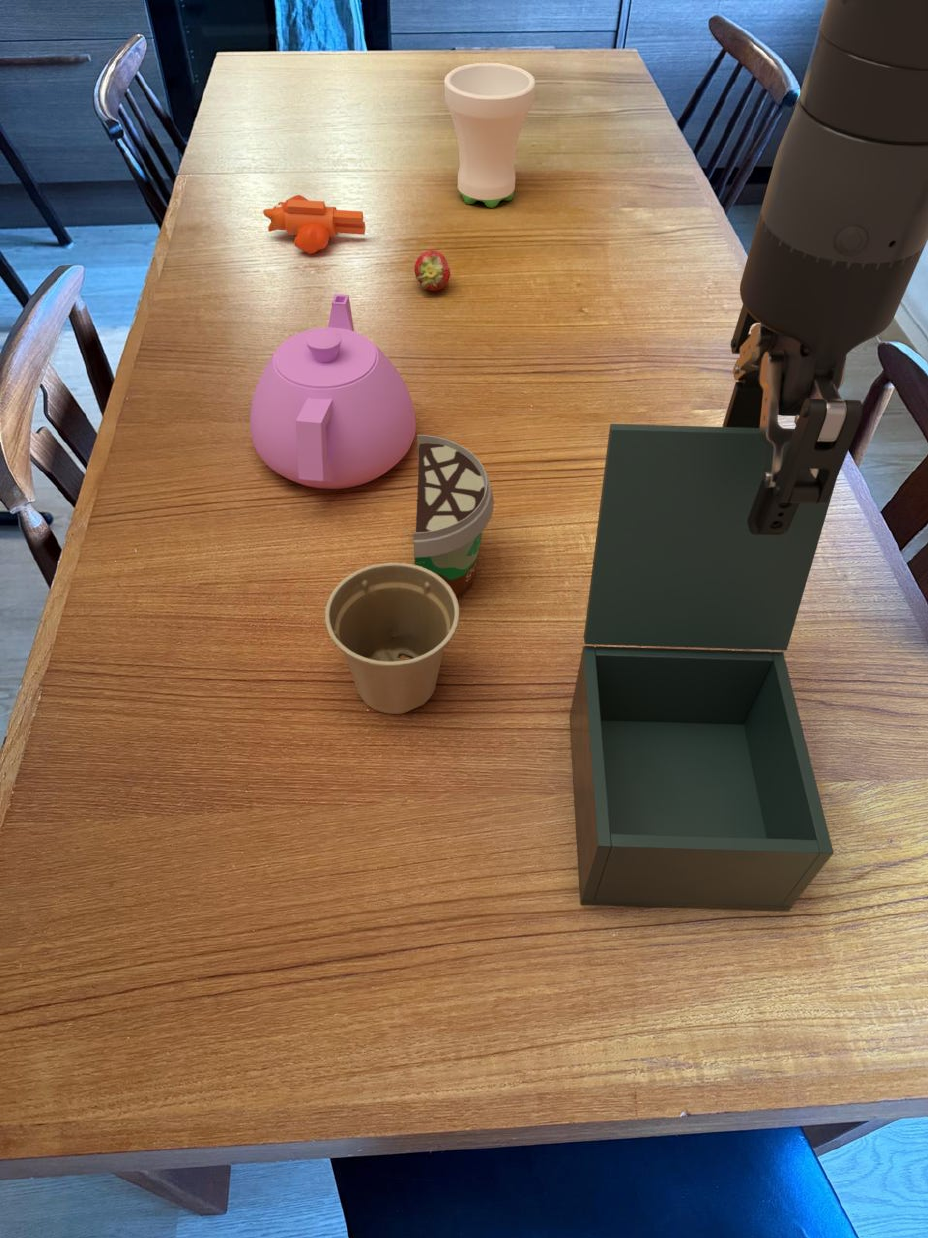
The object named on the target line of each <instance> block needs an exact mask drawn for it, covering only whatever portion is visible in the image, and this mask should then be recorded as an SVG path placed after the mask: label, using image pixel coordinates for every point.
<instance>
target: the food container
mask: <svg viewBox="0 0 928 1238" xmlns="http://www.w3.org/2000/svg"><path fill="white" fill-rule="evenodd" d="M417 473H418V474H417V497H416V498H417V499H416V516H415V517H416V518H415V522H416V523H415V532H413V533H412V534H413V558H414V565H417V566H421V567H423V568H426V569H428V570H430V571H432V572H434V573H436V574H437V575H438V576H440V577H441V578H442V579H443V580H444V581H445V582H446V583H447V584H448V585H449V586H450V587H451V588H452V590H453V592H454V593H455V596H456V598H457V600H459V599H461V598H462V597H464V596H465V595H466V593H467V592H468V591H469V590H470V588H471V587H472V586H473V584H474V581H475V579H476V574H477V570H478V569H477V568H478V562H479V556H480V549H481V542H482V535H483V531H484V530H485V529H486V527H487V526H488V524H489V522H490V520H491V519H492V515H493V512H494V507H495V506H494V505H495V499H494V493H493V489H492V484H491V480H490V477H489V476H488V472H487V470H486V469H485V467H484V465H483V464H482V462H481V461H480V459H478V457H477V456H476V455H475V454H474V453H473V452H471V451H470V450H469V449H467V448H466V447H464V446H462V445H461V444H459V443H457V442H455V441H452V440H450V439H447V438H443V437H439V436H435V435H428V434H417Z"/></svg>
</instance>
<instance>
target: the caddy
mask: <svg viewBox="0 0 928 1238" xmlns="http://www.w3.org/2000/svg"><path fill="white" fill-rule="evenodd" d="M784 653H785V652H784V651H771V650H763V651H762V650H738V649H705V648H672V647H666V648H665V647H639V646H606V645H583V646H582V650H581V656H580V659H579V666H578V671H577V675H576V677H577V678H576V681H575V687H574V692H573V696H572V702H571V707H570V712H569V733H570V750H571V765H572V767H571V768H572V785H573V801H574V802H573V803H574V818H575V835H576V836H575V838H576V852H577V853H576V855H577V871H578V872H577V875H578V891H579V904H580V905H581V906H609V907H610V906H611V907H612V906H613V907H640V908H641V907H642V908H643V907H644V908H673V909H676V908H677V909H703V910H706V909H708V910H709V909H710V910H738V911H739V910H741V911H768V912H770V911H771V912H790V910H791V909H793V906H794V905H795V904H796V902H797V901H798V900H799V898H800V897H801V896H802V894H803V893H804V892H805V891H806V889H807V888H808V887H809V886H810V884H811V883H812V882H813V881H814V879H815V878H816V876H817V875H818V874H819V872H821V870H822V869H823V868H824V866H825V865H826V863H828V861H829V860H830V858H831V857H832V856H833V855H834V849H833V845H832V841H831V837H830V833H829V829H828V824H827V821H826V817H825V814H824V809H823V805H822V802H821V798H820V793H819V789H818V786H817V781H816V778H815V774H814V770H813V765H812V762H811V761H812V760H811V757H810V754H809V753H810V752H809V749H808V745H807V742H806V738H805V737H806V736H805V733H804V730H803V726H802V721H801V717H800V713H799V710H798V706H797V701H796V697H795V694H794V690H793V685H792V682H791V678H790V675H789V670H788V665H787V662H786V658H785V654H784Z"/></svg>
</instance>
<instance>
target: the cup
mask: <svg viewBox="0 0 928 1238" xmlns="http://www.w3.org/2000/svg"><path fill="white" fill-rule="evenodd" d="M443 82H444V86H443V87H444V103H445V106H446V107H447V109H448V110H449V113H450V116H451V119H452V122H453V126H454V130H455V134H456V139H457V144H458V153H459V169H458V173H457V190H458V191H459V192H460V195H461V197H462V198H463V201H464V203H465V204H467V205H473V204H475V203H477V202H478V201H479V202H483V204H484V205H485V206H486V207H487V208H489V209H494V208H496V206H497V205H498V204H499V203H500V201H504V202H505V201H506V202H510V201H512V199H514V195H515V189H516V177H517V176H516V171H515V162H516V153H517V146H518V141H519V138H520V135H521V131H522V129H523V125H524V123H525V120H526V118H527V115H528V113H529V111H531V109H532V107H533V104H534V102H535V91H536V79H535V77H534V76H533V75H532V74H531V73H530V72H528V71H527V70H525V69H523V68H520V67H518V66H515V65H510V64H506V63H500V62H498V63H497V62H477V63H469V64H465V65H460V66H458V67H455V68H453V69H452V70H451V71H449V72H448V73H447V74H445V77H444V81H443Z"/></svg>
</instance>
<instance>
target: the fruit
mask: <svg viewBox="0 0 928 1238" xmlns="http://www.w3.org/2000/svg"><path fill="white" fill-rule="evenodd" d="M413 270H414V276H415V280H417V281H418V283H419V284H420V287H419V288H420V290H422V291H425V290H427V291H431V292H437V291H440V290H443V289H444V288H445V287H446V285H447V284H448V283H449V280H450V278H451V269H450V267H449V264H448V260H447V258H446V257H445V256H444V255H443V253H441V252H439V251H437V250H433V249H429V250H427V251H425V252H423V253H422V254H421V255H419V256H418V258H417V259H416V261H415V263H414V269H413Z"/></svg>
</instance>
